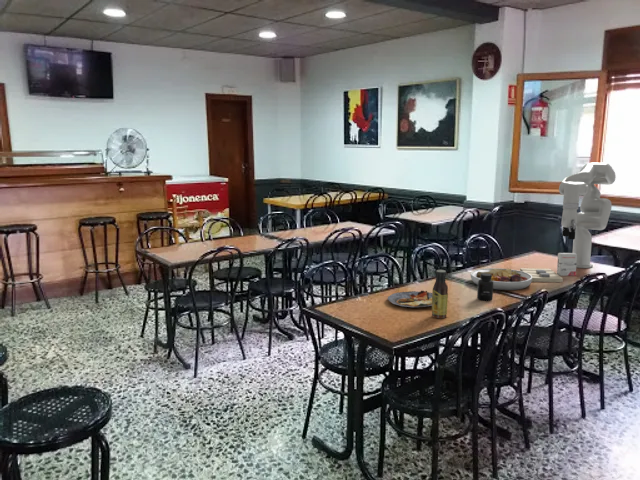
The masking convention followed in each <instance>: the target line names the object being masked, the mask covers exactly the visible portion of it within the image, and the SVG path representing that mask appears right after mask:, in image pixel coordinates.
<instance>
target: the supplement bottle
mask: <svg viewBox="0 0 640 480" xmlns="http://www.w3.org/2000/svg"><path fill="white" fill-rule="evenodd" d="M491 277H492V275H491V274H487V273H482V274H481V277H480V278H481V279H480V280H479V281H478V285H477V292H476V293H477V295H476V299H477V300H478V301H480V302H491V301H493V297H494V289H493V281H492V280H491V279H492V278H491Z"/></svg>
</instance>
